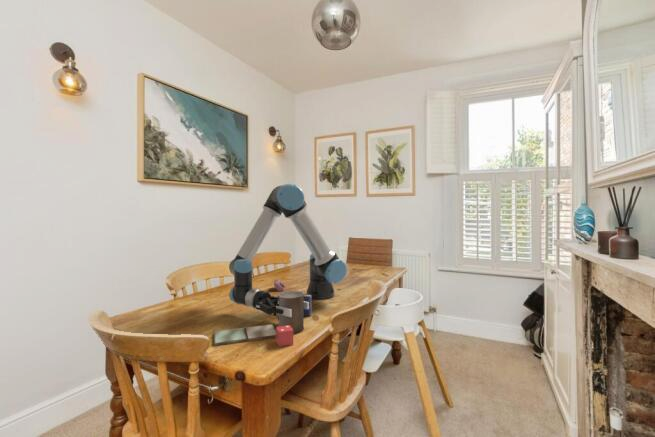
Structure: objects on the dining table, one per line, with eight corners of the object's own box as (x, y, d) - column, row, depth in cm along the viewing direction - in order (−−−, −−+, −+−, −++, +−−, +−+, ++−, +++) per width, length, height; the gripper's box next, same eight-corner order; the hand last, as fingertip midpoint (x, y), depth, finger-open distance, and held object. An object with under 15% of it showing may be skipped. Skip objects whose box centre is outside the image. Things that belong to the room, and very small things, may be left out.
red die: (289, 338, 109) (289, 324, 109) (293, 344, 104) (293, 329, 104) (276, 340, 107) (276, 326, 107) (278, 346, 102) (278, 331, 102)
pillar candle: (308, 326, 120) (308, 289, 120) (295, 336, 111) (295, 295, 111) (287, 323, 124) (287, 286, 124) (273, 331, 115) (273, 292, 115)
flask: (312, 315, 134) (312, 290, 133) (310, 317, 131) (310, 292, 131) (292, 313, 136) (292, 289, 136) (290, 315, 133) (290, 291, 133)
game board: (273, 325, 121) (273, 323, 121) (278, 336, 110) (278, 334, 110) (214, 333, 113) (214, 331, 113) (214, 346, 103) (214, 343, 103)
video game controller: (278, 289, 181) (273, 279, 181) (285, 286, 181) (280, 276, 181) (277, 294, 171) (271, 283, 171) (284, 290, 172) (279, 279, 171)
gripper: (277, 301, 137) (317, 311, 124) (237, 315, 119) (279, 328, 106) (277, 285, 137) (317, 293, 124) (237, 296, 118) (279, 307, 106)
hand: (299, 309), depth 115 cm, fingers closed on pillar candle, 9 cm apart
